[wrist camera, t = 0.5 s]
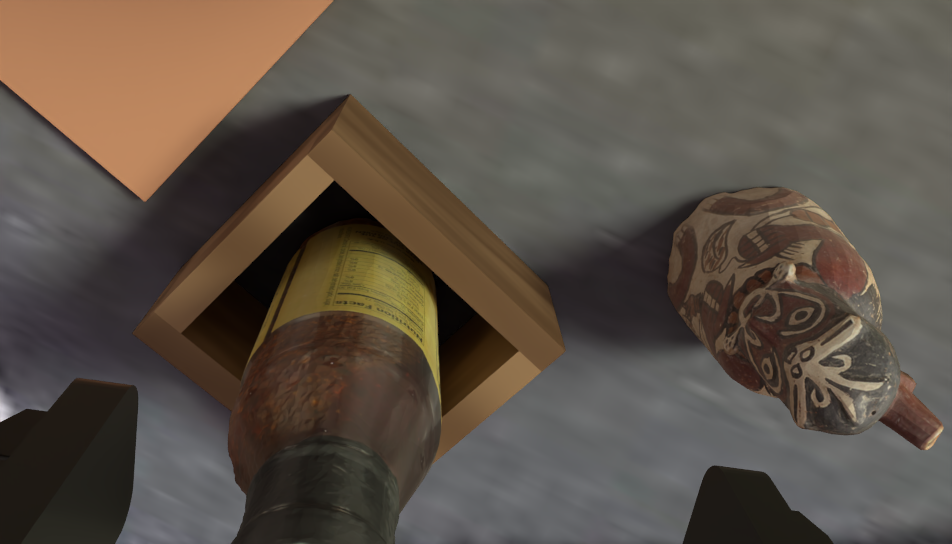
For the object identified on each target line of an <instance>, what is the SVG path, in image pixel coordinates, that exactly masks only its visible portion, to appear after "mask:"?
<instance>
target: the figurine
mask: <svg viewBox="0 0 952 544" xmlns="http://www.w3.org/2000/svg"><path fill="white" fill-rule="evenodd" d="M667 279H668V295H669V297H670V299H671V302H672V304H673V305H674V307H675V309H676V310H677V312H678V313H679V314H680V315H681V316H682V318H683V319H684V321H685V322H686V324H687V326H688V327H689V328H690V329H691V330H692V331H693V332H694V334H695V335H696V336H697V338H698V339H699V340H700V341H701V342H702V343H703V344H704V345H705V346H706V348H707V349H708V350H709V351H710V353H711V354H712V355H713V357H714V358H715V359H716V360H717V361H718V363H719V364H720V365H721V366H722V368H723V369H724V370H725V372H726V373H727V374H728V375H729V376H730V377H731V378H732V379H733V380H735V381H736V382H738V383H739V384H741V385H743V386H744V387H746V388H747V389H749V390H751V391H753V392H756V393H758V394H762V395H767V396H771V397H775V398H779V399H780V400H781V401H782V402H783V403H784V404H785V406H786V407H787V408H788V409H789V410H790V412H791V415H792V417H793V420H794V422H795V423H796V425H797V426H799V427H800V428H802V429H808V430H815V431H822V432H826V433H830V434H837V435H854V434H860V433H862V432H864V431H865V430H867V429H869V428H871V427H872V426H873V425H874V424H875V423H876V422H877V421H880V422H882V423H883V424H885V425H886V426H888V427H889V428H891V429H892V430H894V431H895V432H897V433H898V434H899V435H901V436H902V437H904V438H905V439H906V440H908V441H909V442H910V443H912V444H913V445H915V446H916V447H917V448H919V449H920V450H928V449H929V448H930V447H932V446H933V444H934V443H935V441H936V439H937V438H938V436H939V435H940V433H941V432H942V430H943V425H942V422H941V421H940V420H939V419H938V418H937V417H936V416H935V415H934V414H933V413H932V412H931V411H930V410H929V409H928V408H927V407H926V406H925V405H924V404H923V403H922V402H921V401H920V400H919V399H918V398H917V397H916V396H915V395H913V394H912V392H913V390H914V388H915V386H916V383H915V381H914V380H913V379H912V378H911V377H910V376H909V375H908V374H906V373H904V372H902V371H900V365H899V362H898V359H897V356H896V353H895V350H894V348H893V346H892V344H891V343H890V341H889V340H888V338H887V337H886V336H885V335H884V334H883V333H882V332H881V331H880V330H881V324H882V310H881V301H880V294H879V290H878V287H877V284H876V282H875V279H874V277H873V274H872V272H871V269H870V268H869V266H868V265H867V263H866V262H865V261H864V260H863V259H862V258H861V256H860V255H859V254H858V253H857V251H856V250H855V248H854V247H853V246H852V244H851V243H850V242H849V241H848V239H847V238H846V237H845V235H844V234H843V233H842V232H841V230H840V229H839V228H838V226H837V225H836V224H835V222H834V221H833V220H832V218H831V217H830V216H829V215H828V214H827V213H826V212H825V211H824V210H823V209H821V208H820V207H819V206H818V205H817V204H816V203H814V202H813V201H811V200H810V199H808V198H807V197H806V196H804V195H802V194H801V193H799V192H797V191H794V190H789V189H787V188H784V187H777V188H760V187H757V188H752V189H748V190H741V191H738V192H736V193H730V194H729V193H725V192H723V193H720V194H716V195H713V196H710V197H708V198H705V199H704V200H703V201H702V202H701V203H700V204H699V205H698V207H697V208H696V209H695V211H694V212H693V213H692V214H691V215H690V216H689V217H688V218H687V219H686V220H685V221H683V222H682V223H681V224H680V226H679V227H678V228H677V229H676V231H675V232H674V236H673V245H672V251H671V255H670V258H669V273H668V276H667Z"/></svg>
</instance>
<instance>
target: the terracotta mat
mask: <svg viewBox="0 0 952 544" xmlns="http://www.w3.org/2000/svg"><path fill="white" fill-rule="evenodd" d="M333 1H334V0H0V80H1V81H2V82H3V83H4V84H6V85H7V86H8V87H9V88H10V89H11V90H13V91H14V92H15V93H16V94H17V95H19V96H20V97H21V98H22V99H23V100H25V101H26V102H27V103H28V104H29V105H30V106H32V107H33V108H34V109H35V110H36V111H38V112H39V113H40V114H41V115H42V116H44V117H45V118H46V119H47V120H48V121H49V122H51V123H52V124H53V125H54V126H55V127H57V128H58V129H59V130H60V131H61V132H62V133H64V134H65V135H66V136H67V137H68V138H70V139H71V140H72V141H73V142H74V143H76V144H77V145H78V146H79V147H80V148H81V149H83V150H84V151H85V152H86V153H87V154H89V155H90V156H91V157H92V158H93V159H95V160H96V161H97V162H98V163H99V164H100V165H102V166H103V167H104V168H105V169H106V170H108V171H109V172H110V173H111V174H112V175H113V176H115V177H116V178H117V179H118V180H119V181H121V182H122V183H123V184H124V185H125V186H127V187H128V188H129V189H130V190H131V191H132V192H134V193H135V194H136V195H137V196H138V197H140V198H141V199H142V200H143V201H144V202H146V201H147V200H148V199H149V198H150V197H151V196H152V195H153V194H154V193H155V191H156V190H157V189H158V188H159V187H160V186H161V185H162V184H163V183H164V182H165V181H166V180H167V179H168V178H169V176H170V175H171V174H172V173H173V172H174V171H175V170H176V169H177V168H178V167H179V166H180V165H181V164H182V163H183V161H184V160H185V159H186V158H187V157H188V156H189V155H190V154H191V153H192V152H193V151H194V150H195V149H196V148H197V146H198V145H199V144H200V143H201V142H202V141H203V140H204V139H205V138H206V137H207V136H208V135H209V134H210V133H211V131H212V130H213V129H214V128H215V127H216V126H217V125H218V124H219V123H220V122H221V121H222V120H223V119H224V118H225V116H226V115H227V114H228V113H229V112H230V111H231V110H232V109H233V108H234V107H235V106H236V105H237V104H238V103H239V101H240V100H241V99H242V98H243V97H244V96H245V95H246V94H247V93H248V92H249V91H250V90H251V89H252V88H253V86H254V85H255V84H256V83H257V82H258V81H259V80H260V79H261V78H262V77H263V76H264V75H265V74H266V73H267V71H268V70H269V69H270V68H271V67H272V66H273V65H274V64H275V63H276V62H277V61H278V60H279V59H280V58H281V56H282V55H283V54H284V53H285V52H286V51H287V50H288V49H289V48H290V47H291V46H292V45H293V44H294V43H295V42H296V40H297V39H298V38H299V37H300V36H301V35H302V34H303V33H304V32H305V31H306V30H307V29H308V28H309V27H310V25H311V24H312V23H313V22H314V21H315V20H316V19H317V18H318V17H319V16H320V15H321V14H322V13H323V12H324V10H325V9H326V8H327V7H328V6H329V5H330V4H331V3H332V2H333Z"/></svg>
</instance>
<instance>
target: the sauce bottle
mask: <svg viewBox="0 0 952 544" xmlns="http://www.w3.org/2000/svg"><path fill="white" fill-rule="evenodd" d="M441 425H442V416H441V392H440V369H439V344H438V319H437V297H436V287H435V281H434V278H433V275H432V272H431V270H430V268H429V267H428V266H427V265H426V264H425V263H423V262H422V261H421V260H420V259H419V258H418V257H417V256H416V255H415V254H414V253H413V252H412V251H411V250H409V249H408V248H407V247H406V246H405V245H404V244H403V243H402V242H401V241H400V240H399V239H398V238H396V237H395V236H394V235H393V234H392V233H391V232H390V231H389V230H388V229H387V228H386V227H385V226H384V225H382V224H381V223H380V222H376V221H373V220H371V219H368V218H353V219H349V220H343V221H338V222H337V223H334V224H332V225H330V226H327V227H325V228H323V229H321V230H320V231H318V232H316V233H314V234H312V235H311V236H309V237H308V238H307V239H306V240H305V241H304V242H303V243H302V245H301V246H300V248H299V250H298V251H297V252H296V254H295V255H294V256H293V257H292V259H291V261H290V262H289V264H288V266H287V268H286V270H285V272H284V275H283V277H282V279H281V282H280V284H279V286H278V289H277V291H276V293H275V296H274V298H273V300H272V303H271V306H270V308H269V311H268V313H267V316H266V318H265V321H264V323H263V326H262V328H261V331H260V333H259V335H258V338H257V340H256V343H255V345H254V348H253V350H252V352H251V355H250V357H249V360H248V362H247V365H246V367H245V370H244V373H243V376H242V380H241V384H240V392H239V395H238V397H237V399H236V402H235V403H234V406H233V410H232V413H231V417H230V422H229V433H228V452H229V456H230V458H231V460H232V464H233V467H234V474H235V481H236V483H237V484H238V485H239V487H240V488H241V490H242V491H243V492H244V493H245V494H246V505H245V513H244V516H243V521H242V524H241V526H240V529H239V532H238V534H237V537H236V538H235V539H234V540H233V542H232V543H231V544H395V536H394V534H395V530H396V527H397V524H398V519H399V514H400V513H401V511H402V510H403V508H404V507H405V505H406V504H407V502H408V501H409V499H410V498H411V497H412V495H413V494H414V492H415V491H416V489H417V488H418V487H419V485H420V484H421V482H422V481H423V479H424V478H425V476H426V475H427V473H428V471H429V470H430V468H431V466H432V463H433V461H434V459H435V456H436V453H437V450H438V447H439V442H440V436H441Z"/></svg>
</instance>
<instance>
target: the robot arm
mask: <svg viewBox="0 0 952 544" xmlns="http://www.w3.org/2000/svg"><path fill="white" fill-rule="evenodd" d="M137 414H138V392H137V388H136V387H135V386H134V385H127V384H119V383H112V382H105V381H97V380H90V379H83V378H77V379H75V380H74V381H73V382H72V383H71V384H70V385H69V386H68V388H67V389H66V390H65V391H64V392H63V394H62V395H61V396H60V397H59V398H58V400H57V401H56V402H55V403H54V404H53V406H52V407H51V408H50V409H49V410H48V412H46V411H39V410H31V409H25V410H23V411H22V412H20V413H18V414H16V415H14V416H12V417H10V418H8V419H6V420H4V421H2V422H0V544H115V543H116V541H117V539H118V537H119V535H120V533H121V531H122V529H123V526H124V523H125V521H126V517H127V514H128V511H129V507H130V502H131V497H132V491H133V480H134V464H135V447H136V431H137ZM683 544H833V542H832V541H831V539H830V538H829V536H828V535H826V534H825V533H824V532H823V531H822V530H820V529H819V528H818V527H817V526H816V525H814V524H813V523H812V522H811V521H810V520H809V519H807V518H806V517H805V516H804V515H803V514H801V513H800V512H799V511H792V510H791V509H790V508H789V506H788V505H787V503H786V501H785V500H784V498H783V497H782V495H781V494H780V492H779V491H778V489H777V488H776V486H775V485H774V483H773V481H772V480H771V478H770V477H769V476H768V475H767V474H766V473H764V472H760V471H752V470H745V469H737V468H730V467H723V466H712V467H710V468H709V469H708V470H707V472H706V473H705V475H704V477H703V480H702V483H701V486H700V490H699V493H698V496H697V499H696V502H695V506H694V509H693V512H692V515H691V518H690V522H689V525H688V528H687V531H686V535H685V538H684V541H683Z"/></svg>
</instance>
